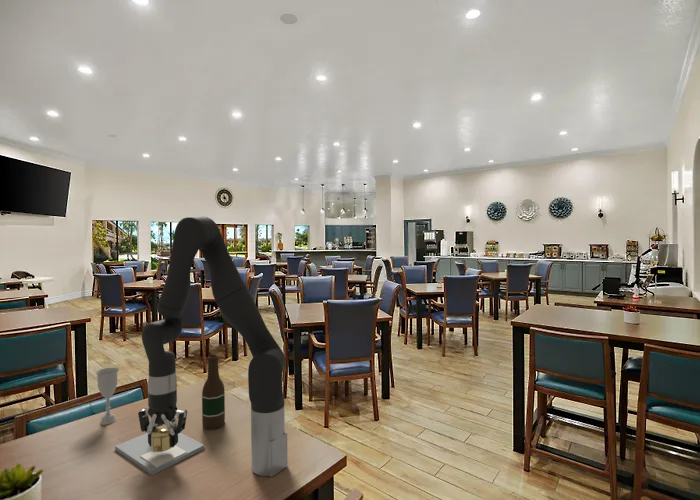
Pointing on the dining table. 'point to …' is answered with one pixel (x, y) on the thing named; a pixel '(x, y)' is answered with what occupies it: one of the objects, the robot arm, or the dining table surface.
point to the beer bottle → (213, 397)
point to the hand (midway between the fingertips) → (163, 445)
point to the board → (157, 461)
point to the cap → (160, 439)
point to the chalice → (107, 391)
